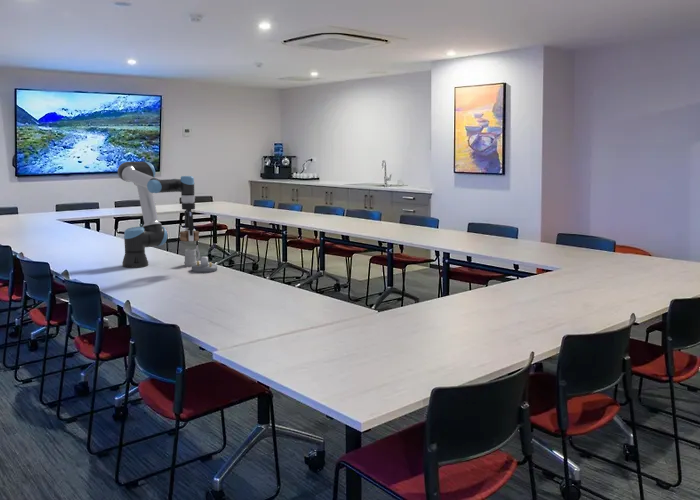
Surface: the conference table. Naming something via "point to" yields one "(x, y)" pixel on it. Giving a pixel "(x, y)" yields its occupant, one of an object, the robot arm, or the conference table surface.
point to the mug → (191, 256)
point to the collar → (185, 236)
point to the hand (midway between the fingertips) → (189, 239)
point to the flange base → (203, 270)
